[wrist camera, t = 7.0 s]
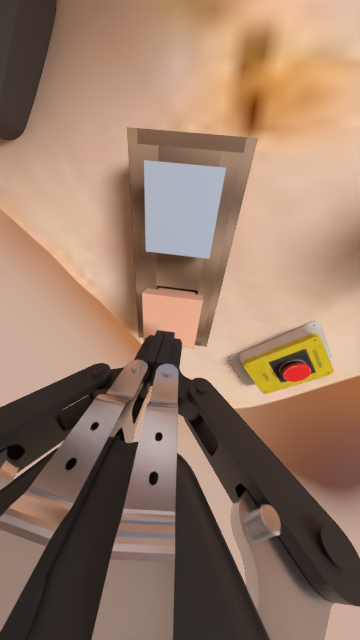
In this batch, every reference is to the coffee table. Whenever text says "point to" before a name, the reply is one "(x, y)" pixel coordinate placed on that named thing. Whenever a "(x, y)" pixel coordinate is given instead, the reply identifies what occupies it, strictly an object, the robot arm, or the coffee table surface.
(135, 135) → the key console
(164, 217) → the slate-blue key
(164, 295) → the terracotta key
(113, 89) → the coffee table surface
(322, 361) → the emergency button
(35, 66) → the media streaming box
